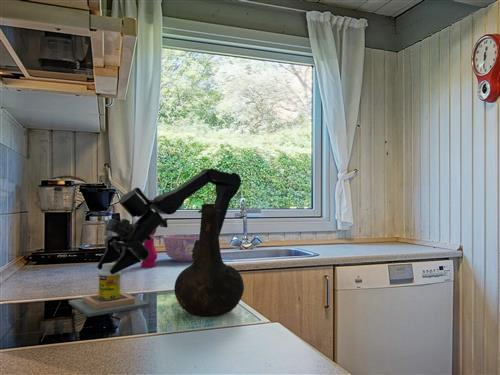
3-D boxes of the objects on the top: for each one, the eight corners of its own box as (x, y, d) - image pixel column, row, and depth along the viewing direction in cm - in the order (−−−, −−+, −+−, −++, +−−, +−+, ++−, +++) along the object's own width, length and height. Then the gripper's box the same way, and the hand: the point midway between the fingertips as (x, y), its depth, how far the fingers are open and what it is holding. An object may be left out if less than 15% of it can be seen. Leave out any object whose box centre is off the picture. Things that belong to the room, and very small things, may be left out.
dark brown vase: (218, 328, 90) (220, 203, 91) (158, 316, 98) (160, 202, 99) (256, 309, 105) (257, 203, 106) (201, 300, 114) (202, 202, 115)
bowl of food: (194, 264, 177) (194, 238, 178) (154, 262, 183) (154, 237, 183) (210, 258, 197) (211, 235, 197) (173, 256, 202) (174, 233, 202)
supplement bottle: (94, 303, 106) (95, 265, 106) (103, 298, 111) (104, 262, 112) (115, 304, 105) (116, 265, 106) (123, 299, 111) (124, 262, 111)
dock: (125, 295, 119) (125, 288, 119) (149, 306, 107) (149, 298, 107) (68, 303, 109) (68, 296, 109) (88, 316, 97) (88, 308, 97)
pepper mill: (152, 268, 167) (153, 220, 167) (136, 267, 168) (137, 220, 169) (159, 265, 174) (160, 219, 174) (144, 264, 175) (145, 219, 176)
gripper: (112, 207, 119) (72, 247, 111) (139, 209, 104) (95, 255, 97) (136, 233, 123) (99, 272, 116) (165, 238, 109) (126, 283, 102)
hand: (104, 270), depth 108 cm, fingers open, 9 cm apart
